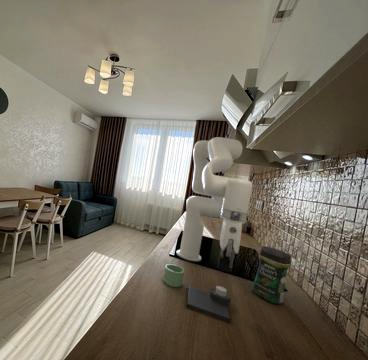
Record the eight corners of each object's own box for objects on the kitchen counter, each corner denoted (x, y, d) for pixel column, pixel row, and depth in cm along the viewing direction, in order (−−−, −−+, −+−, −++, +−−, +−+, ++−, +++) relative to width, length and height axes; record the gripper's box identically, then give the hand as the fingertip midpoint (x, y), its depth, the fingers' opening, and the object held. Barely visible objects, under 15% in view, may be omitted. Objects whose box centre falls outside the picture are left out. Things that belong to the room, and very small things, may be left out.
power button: (215, 290, 73) (216, 284, 73) (225, 293, 72) (226, 288, 72) (215, 295, 70) (216, 289, 70) (226, 298, 69) (227, 292, 69)
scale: (188, 288, 77) (190, 280, 77) (227, 300, 73) (229, 292, 73) (186, 307, 65) (188, 297, 65) (233, 323, 61) (235, 313, 61)
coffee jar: (248, 291, 83) (257, 244, 82) (259, 288, 87) (268, 244, 86) (275, 307, 74) (285, 254, 74) (286, 303, 78) (296, 254, 78)
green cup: (164, 276, 84) (166, 262, 84) (182, 281, 81) (185, 267, 81) (161, 283, 77) (163, 268, 77) (180, 290, 75) (183, 274, 75)
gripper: (250, 222, 63) (238, 283, 63) (241, 215, 77) (231, 264, 78) (223, 216, 65) (212, 275, 66) (219, 210, 79) (209, 258, 80)
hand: (222, 269), depth 72 cm, fingers closed
